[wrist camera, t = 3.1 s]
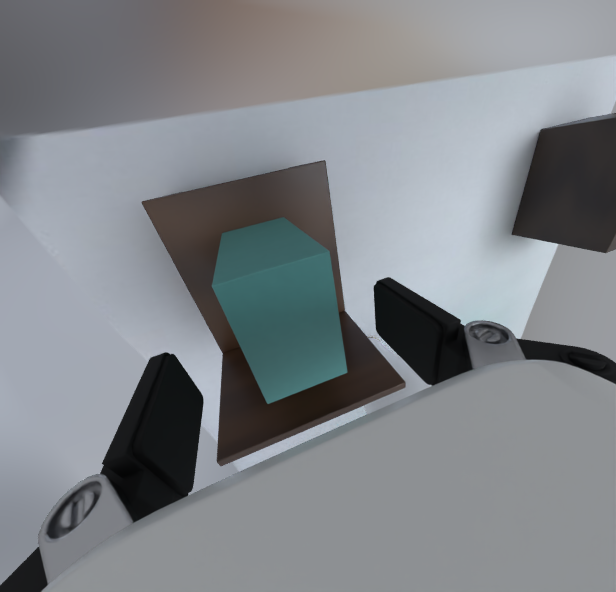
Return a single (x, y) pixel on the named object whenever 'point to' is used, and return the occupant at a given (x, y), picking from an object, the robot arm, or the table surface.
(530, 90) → the table surface
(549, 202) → the dark brown box
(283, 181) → the shelf
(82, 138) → the table surface
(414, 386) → the cup
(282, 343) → the block
